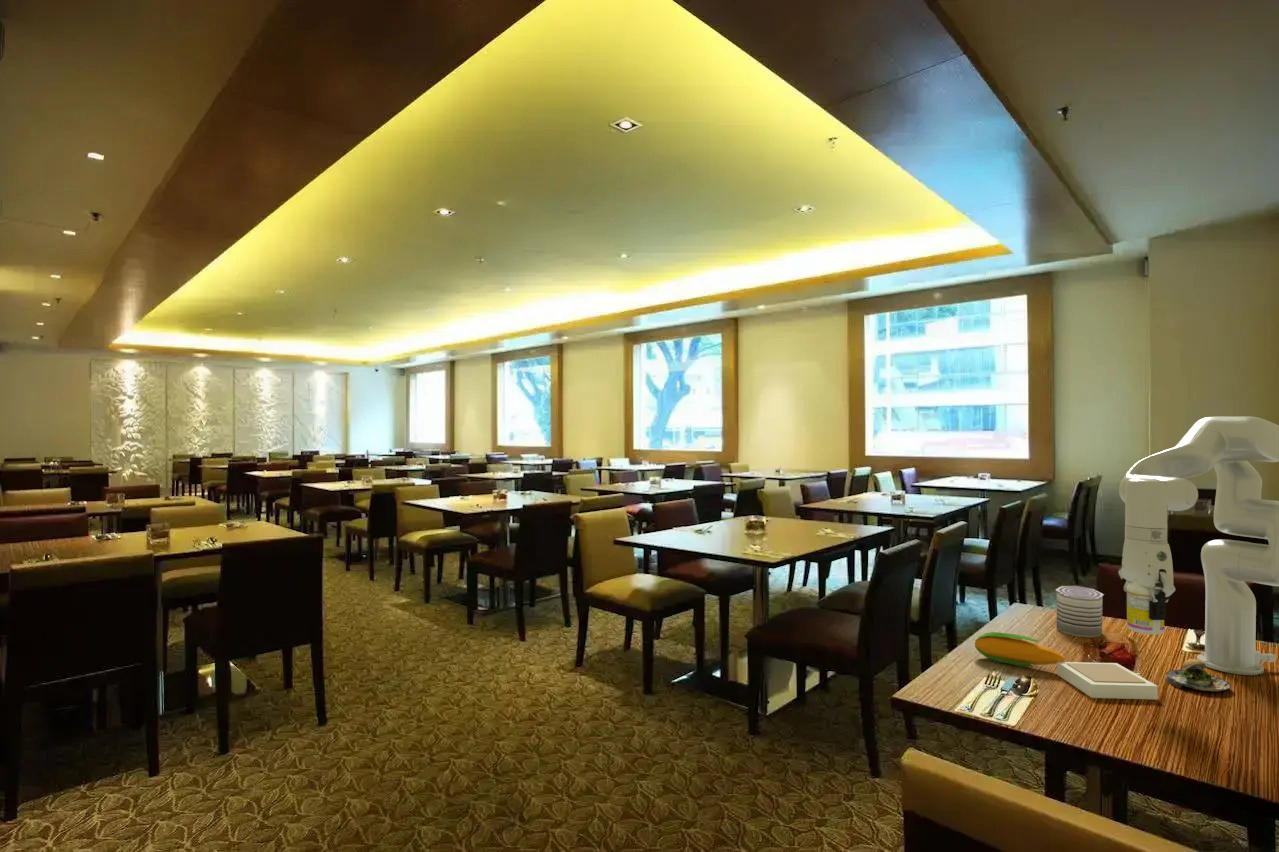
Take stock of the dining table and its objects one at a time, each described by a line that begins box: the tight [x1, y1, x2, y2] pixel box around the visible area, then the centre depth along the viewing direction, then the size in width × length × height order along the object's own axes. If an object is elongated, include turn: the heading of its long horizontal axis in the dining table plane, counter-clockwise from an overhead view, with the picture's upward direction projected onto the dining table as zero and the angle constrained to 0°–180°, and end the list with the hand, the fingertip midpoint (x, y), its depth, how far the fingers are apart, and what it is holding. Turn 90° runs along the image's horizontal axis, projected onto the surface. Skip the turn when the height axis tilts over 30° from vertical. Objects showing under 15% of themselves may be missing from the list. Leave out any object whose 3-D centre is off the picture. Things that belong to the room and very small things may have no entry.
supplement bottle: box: [1126, 573, 1165, 635], centre depth 151 cm, size 7×7×13 cm
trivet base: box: [1056, 661, 1159, 700], centre depth 157 cm, size 14×14×3 cm
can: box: [1055, 585, 1105, 638], centre depth 198 cm, size 11×11×12 cm
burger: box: [1164, 653, 1233, 692], centre depth 158 cm, size 12×12×8 cm
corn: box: [974, 631, 1066, 668], centre depth 171 cm, size 7×8×20 cm
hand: (1145, 614), depth 151 cm, fingers closed on supplement bottle, 6 cm apart
